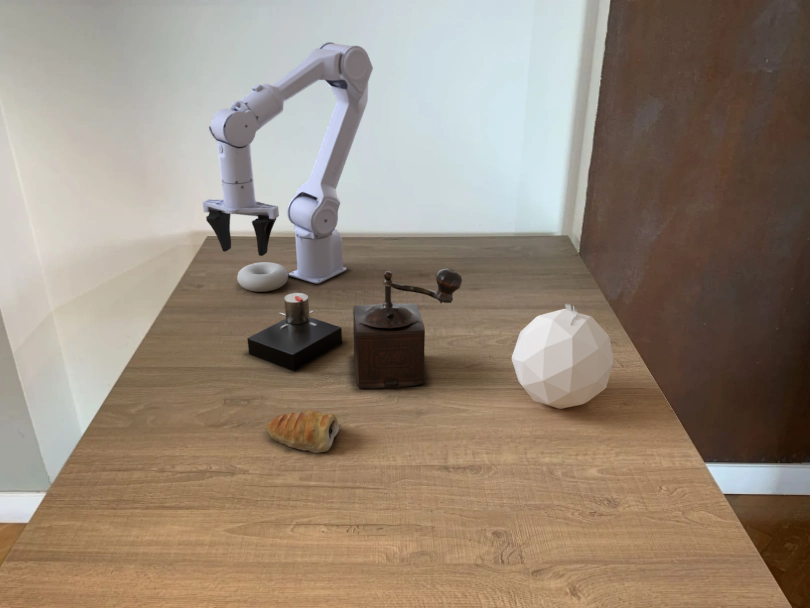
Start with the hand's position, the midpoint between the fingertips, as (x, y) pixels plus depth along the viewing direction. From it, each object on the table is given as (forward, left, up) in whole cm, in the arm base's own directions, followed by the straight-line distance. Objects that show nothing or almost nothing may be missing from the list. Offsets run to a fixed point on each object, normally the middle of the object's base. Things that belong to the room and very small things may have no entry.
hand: (244, 251), depth 140 cm
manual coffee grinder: (+8, +42, -9) cm, 44 cm away
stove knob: (+8, +20, -5) cm, 23 cm away
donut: (-5, -1, -9) cm, 10 cm away
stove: (+11, +22, -8) cm, 26 cm away
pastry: (+31, +42, -9) cm, 53 cm away
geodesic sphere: (+2, +65, -9) cm, 66 cm away
